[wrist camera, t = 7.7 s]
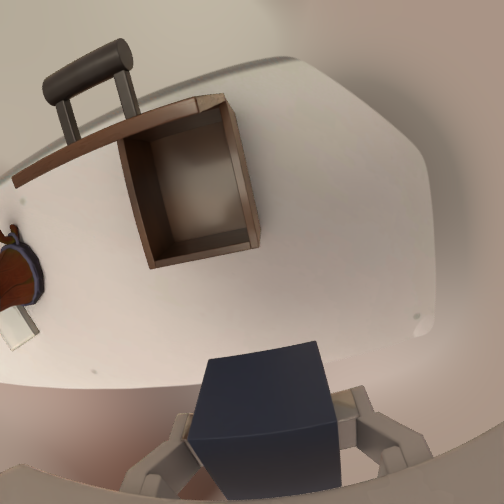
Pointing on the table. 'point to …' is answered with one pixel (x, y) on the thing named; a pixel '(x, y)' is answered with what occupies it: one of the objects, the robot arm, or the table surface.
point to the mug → (18, 273)
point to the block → (267, 424)
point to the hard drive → (16, 326)
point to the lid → (118, 66)
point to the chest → (191, 188)
